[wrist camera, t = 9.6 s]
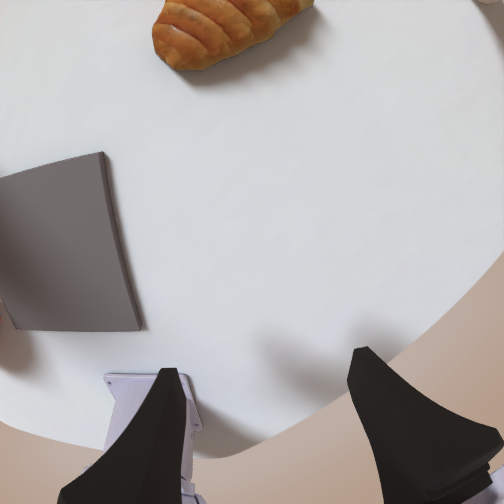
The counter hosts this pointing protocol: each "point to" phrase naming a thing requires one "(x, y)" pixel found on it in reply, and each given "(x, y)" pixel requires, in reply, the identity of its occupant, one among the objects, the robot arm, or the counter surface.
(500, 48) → the counter surface
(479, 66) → the counter surface
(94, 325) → the mat
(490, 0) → the beer glass
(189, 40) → the pastry
